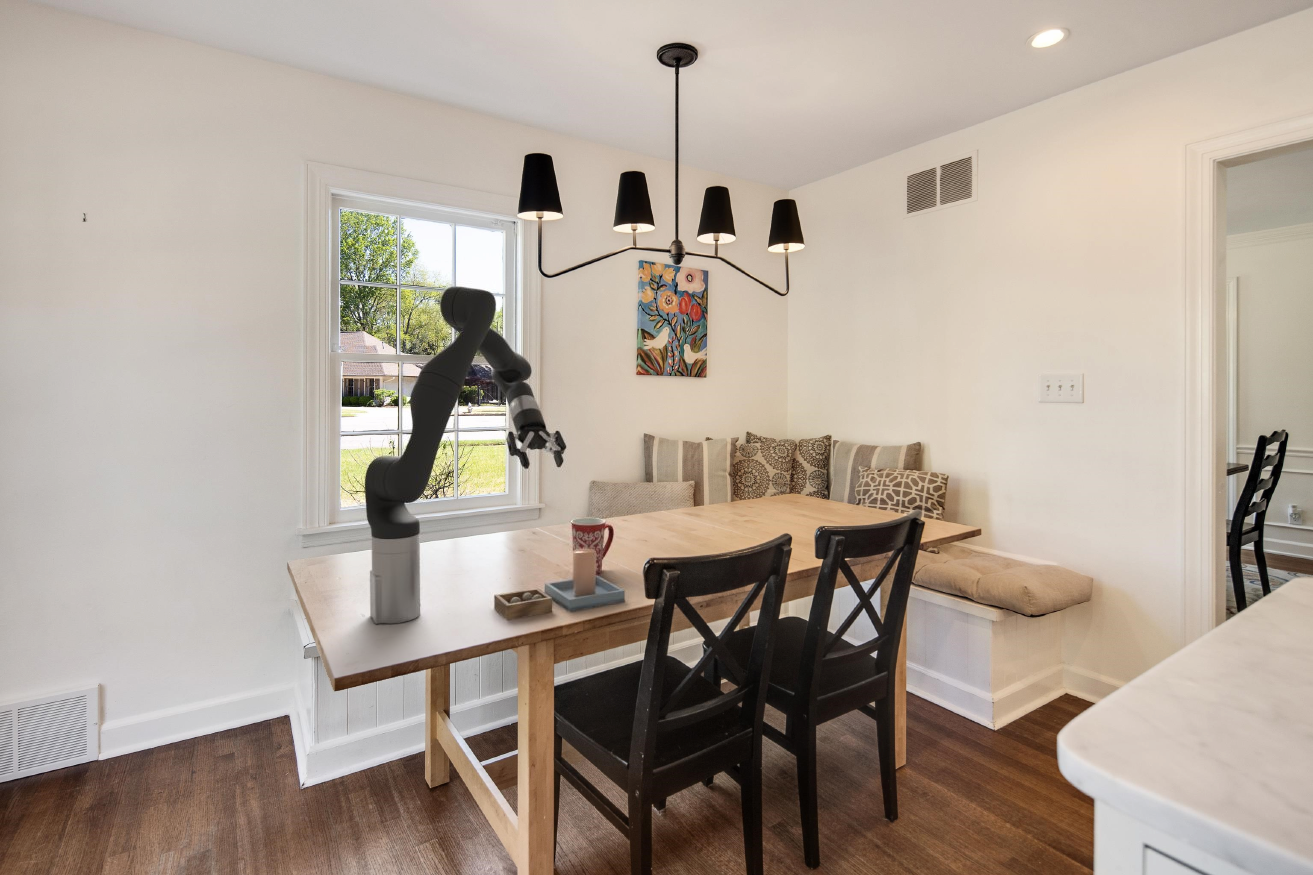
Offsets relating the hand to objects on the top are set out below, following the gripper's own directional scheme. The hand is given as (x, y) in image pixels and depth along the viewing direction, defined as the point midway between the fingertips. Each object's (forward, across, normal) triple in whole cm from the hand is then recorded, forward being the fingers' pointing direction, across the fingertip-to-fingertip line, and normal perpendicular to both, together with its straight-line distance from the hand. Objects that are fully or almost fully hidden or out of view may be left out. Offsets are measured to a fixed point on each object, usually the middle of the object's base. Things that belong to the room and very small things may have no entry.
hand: (544, 466), depth 159 cm
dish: (+32, +3, +8) cm, 33 cm away
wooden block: (+31, +3, +8) cm, 33 cm away
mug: (+19, +15, +22) cm, 33 cm away
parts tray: (+33, -12, +8) cm, 36 cm away
